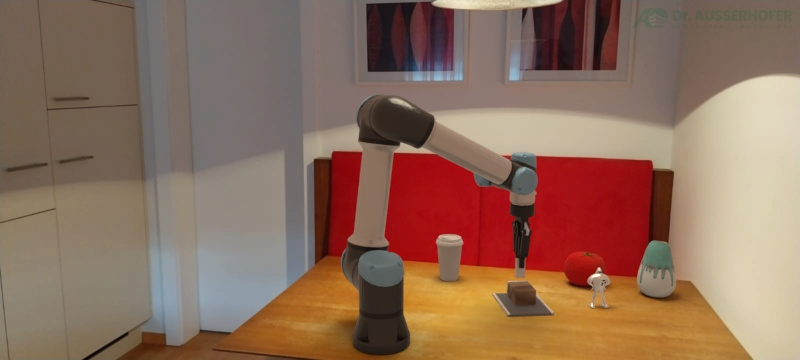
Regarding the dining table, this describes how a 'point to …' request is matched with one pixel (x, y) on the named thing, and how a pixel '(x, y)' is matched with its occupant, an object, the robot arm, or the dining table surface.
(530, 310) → the mat
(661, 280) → the vase
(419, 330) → the dining table surface
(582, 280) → the tomato
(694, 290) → the dining table surface
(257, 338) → the dining table surface
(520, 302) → the block
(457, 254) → the coffee cup
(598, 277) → the figurine
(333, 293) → the dining table surface
